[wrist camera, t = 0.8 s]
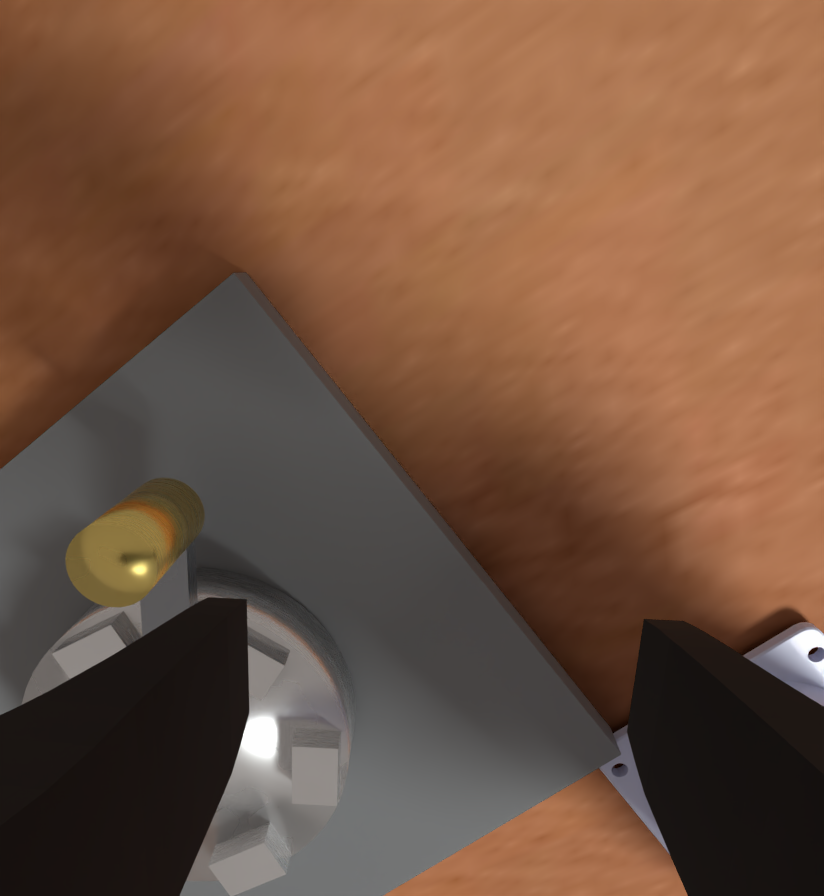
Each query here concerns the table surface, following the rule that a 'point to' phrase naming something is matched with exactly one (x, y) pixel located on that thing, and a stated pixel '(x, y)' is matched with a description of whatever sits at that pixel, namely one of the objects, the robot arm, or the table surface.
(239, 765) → the lathe jaw chuck
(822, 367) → the table surface
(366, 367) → the table surface
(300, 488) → the base plate
